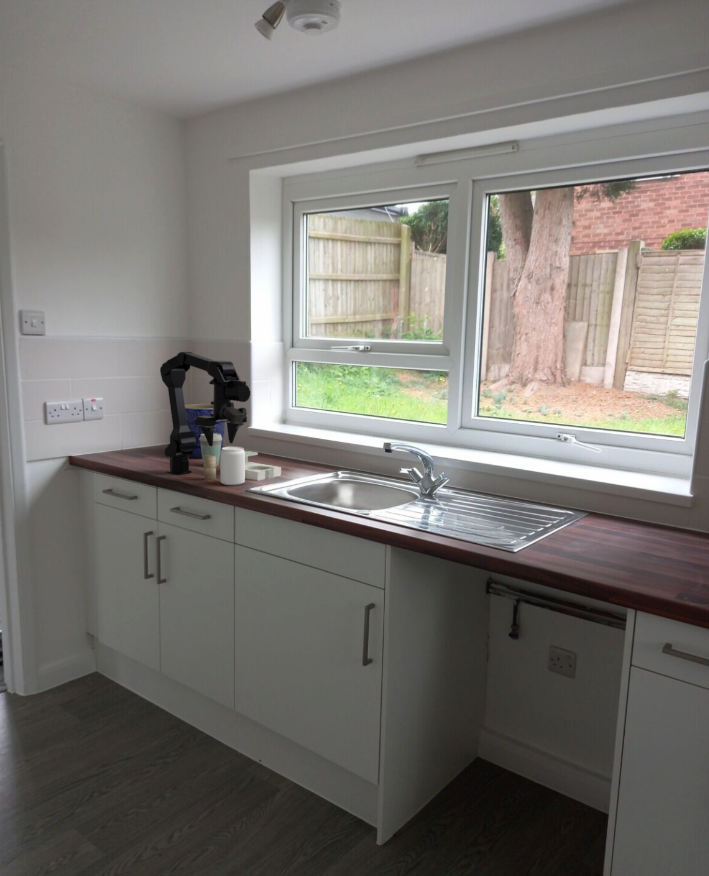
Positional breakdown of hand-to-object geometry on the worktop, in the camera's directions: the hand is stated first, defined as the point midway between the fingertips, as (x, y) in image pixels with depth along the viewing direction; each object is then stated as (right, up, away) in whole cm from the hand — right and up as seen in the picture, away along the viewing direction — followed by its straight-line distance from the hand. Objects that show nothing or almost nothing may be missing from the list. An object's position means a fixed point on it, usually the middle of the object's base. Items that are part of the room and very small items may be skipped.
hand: (221, 444), depth 231 cm
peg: (-5, -12, +5) cm, 14 cm away
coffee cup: (-10, -8, +29) cm, 32 cm away
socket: (+9, -11, +14) cm, 20 cm away
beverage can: (+4, -13, -1) cm, 14 cm away
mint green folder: (+4, -10, +18) cm, 21 cm away
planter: (-17, -5, +49) cm, 52 cm away
